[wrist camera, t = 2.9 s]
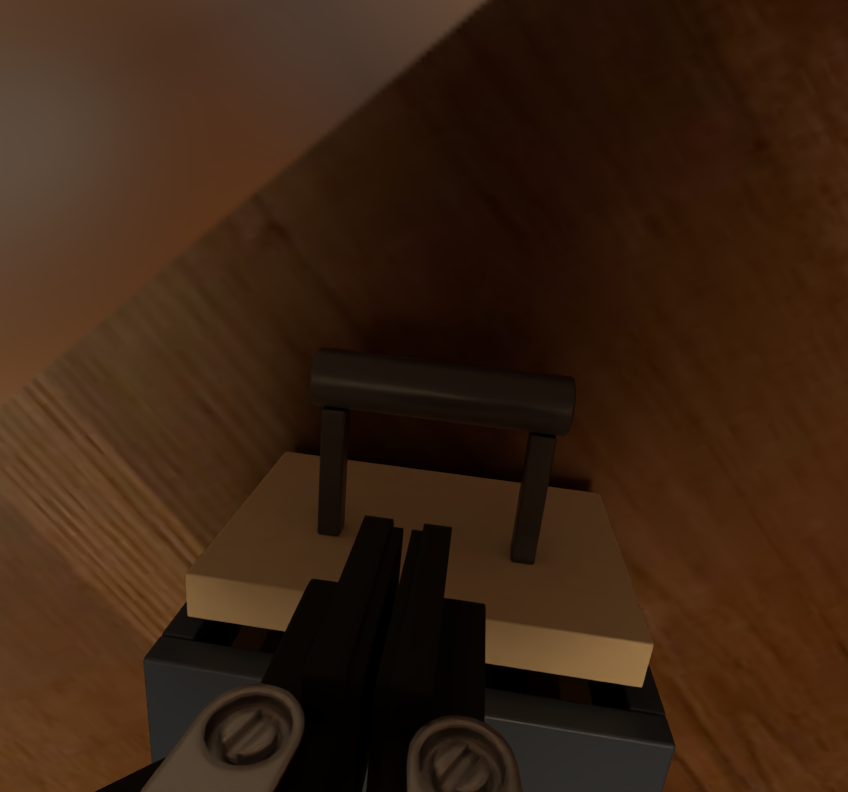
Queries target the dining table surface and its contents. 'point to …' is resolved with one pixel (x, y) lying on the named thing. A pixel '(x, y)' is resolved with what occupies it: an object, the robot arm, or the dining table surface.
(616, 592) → the drawer
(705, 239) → the dining table surface
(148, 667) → the cabinet
